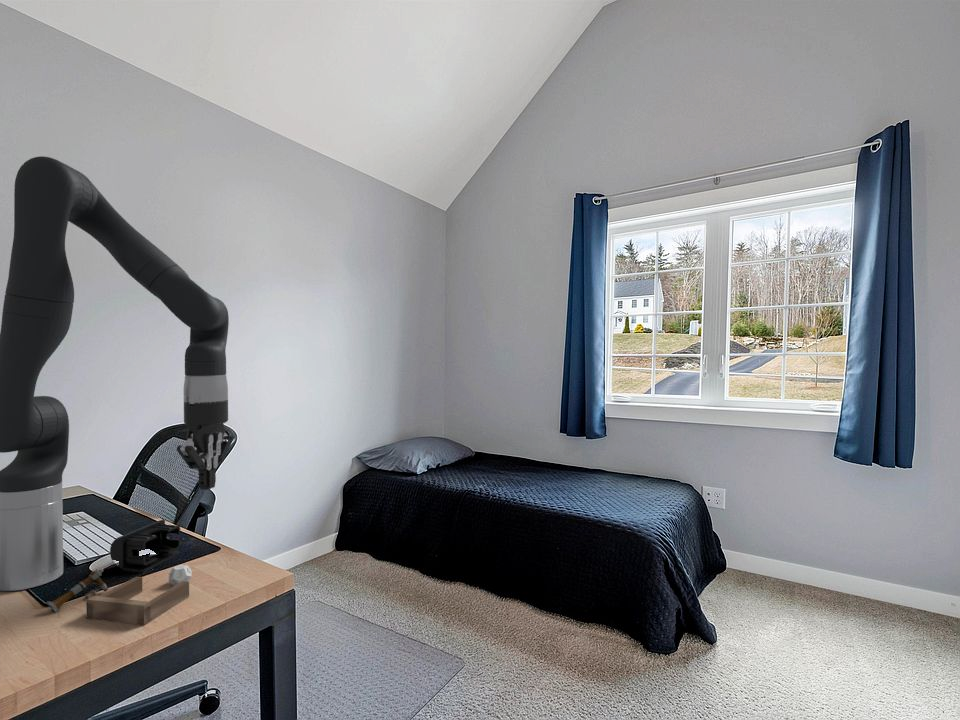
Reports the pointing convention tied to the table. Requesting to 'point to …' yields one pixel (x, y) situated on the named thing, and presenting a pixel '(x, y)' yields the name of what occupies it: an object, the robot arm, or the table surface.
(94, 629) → the table surface
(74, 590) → the wooden post with brackets
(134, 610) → the dice corral
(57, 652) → the table surface
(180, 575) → the game die
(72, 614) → the table surface
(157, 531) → the end cap
